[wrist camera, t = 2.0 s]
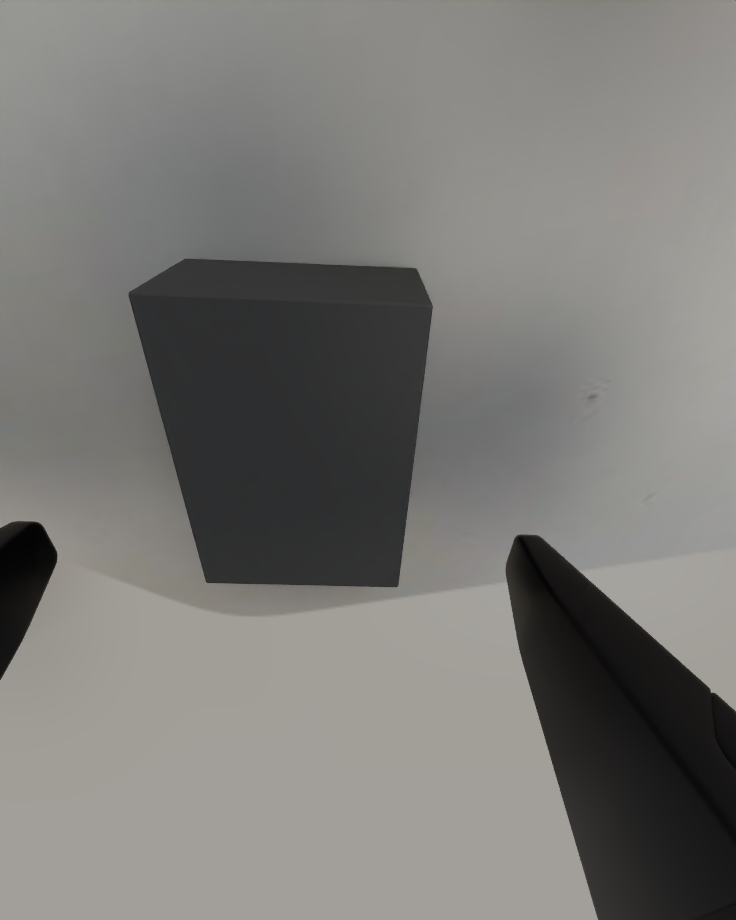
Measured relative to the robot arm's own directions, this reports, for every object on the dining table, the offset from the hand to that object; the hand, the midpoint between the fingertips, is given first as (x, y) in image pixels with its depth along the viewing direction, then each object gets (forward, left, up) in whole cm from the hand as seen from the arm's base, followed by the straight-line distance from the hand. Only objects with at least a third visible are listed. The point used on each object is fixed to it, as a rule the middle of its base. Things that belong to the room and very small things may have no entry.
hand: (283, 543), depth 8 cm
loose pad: (0, 0, -5) cm, 5 cm away
